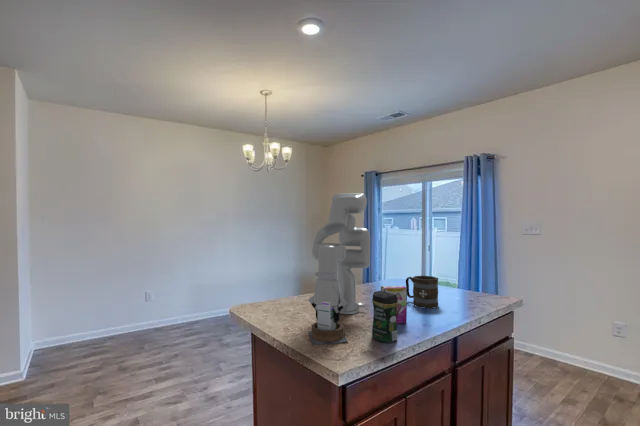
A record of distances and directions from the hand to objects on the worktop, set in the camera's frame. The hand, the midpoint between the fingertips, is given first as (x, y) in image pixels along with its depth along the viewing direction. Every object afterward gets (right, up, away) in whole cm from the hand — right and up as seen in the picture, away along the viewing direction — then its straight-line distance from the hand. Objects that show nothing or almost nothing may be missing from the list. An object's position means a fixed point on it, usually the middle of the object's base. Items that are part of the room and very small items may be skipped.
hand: (327, 320), depth 133 cm
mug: (+53, -8, +51) cm, 74 cm away
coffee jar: (+22, -7, -2) cm, 24 cm away
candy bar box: (+30, -7, +19) cm, 36 cm away
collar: (0, -7, 0) cm, 7 cm away
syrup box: (0, -6, 0) cm, 6 cm away
